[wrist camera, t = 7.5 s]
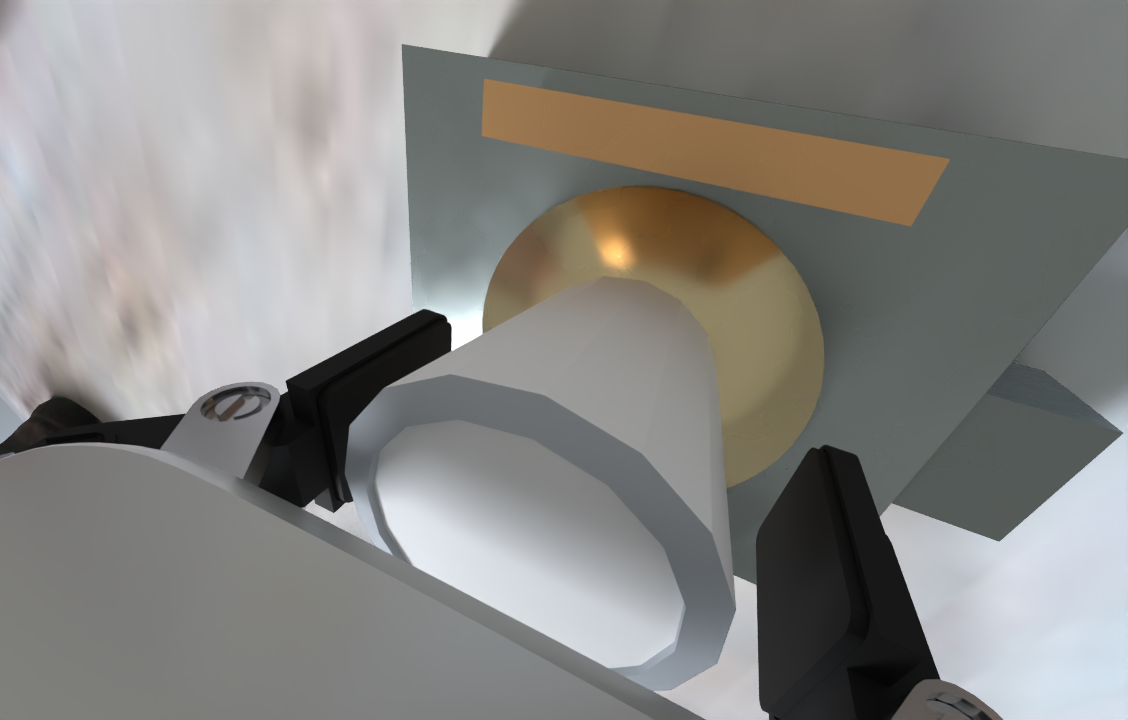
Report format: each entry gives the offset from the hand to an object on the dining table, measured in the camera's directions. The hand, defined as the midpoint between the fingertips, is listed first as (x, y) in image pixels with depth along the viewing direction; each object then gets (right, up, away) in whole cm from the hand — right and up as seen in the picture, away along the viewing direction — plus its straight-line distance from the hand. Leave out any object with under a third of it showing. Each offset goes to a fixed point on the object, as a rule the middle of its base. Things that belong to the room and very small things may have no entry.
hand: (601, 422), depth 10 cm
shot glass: (+1, +1, +3) cm, 3 cm away
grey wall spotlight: (+4, +3, +5) cm, 7 cm away
